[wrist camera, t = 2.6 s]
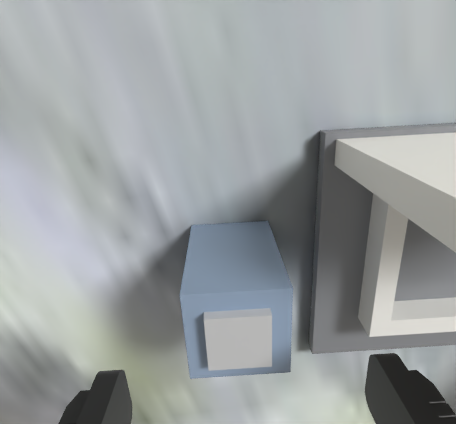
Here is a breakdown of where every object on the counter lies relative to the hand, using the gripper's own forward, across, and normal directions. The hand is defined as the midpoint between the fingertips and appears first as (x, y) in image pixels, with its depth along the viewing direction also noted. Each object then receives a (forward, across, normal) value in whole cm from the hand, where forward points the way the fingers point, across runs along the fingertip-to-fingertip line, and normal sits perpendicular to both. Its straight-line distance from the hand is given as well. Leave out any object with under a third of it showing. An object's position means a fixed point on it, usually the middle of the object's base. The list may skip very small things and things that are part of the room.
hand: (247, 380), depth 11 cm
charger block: (+8, 0, 0) cm, 8 cm away
